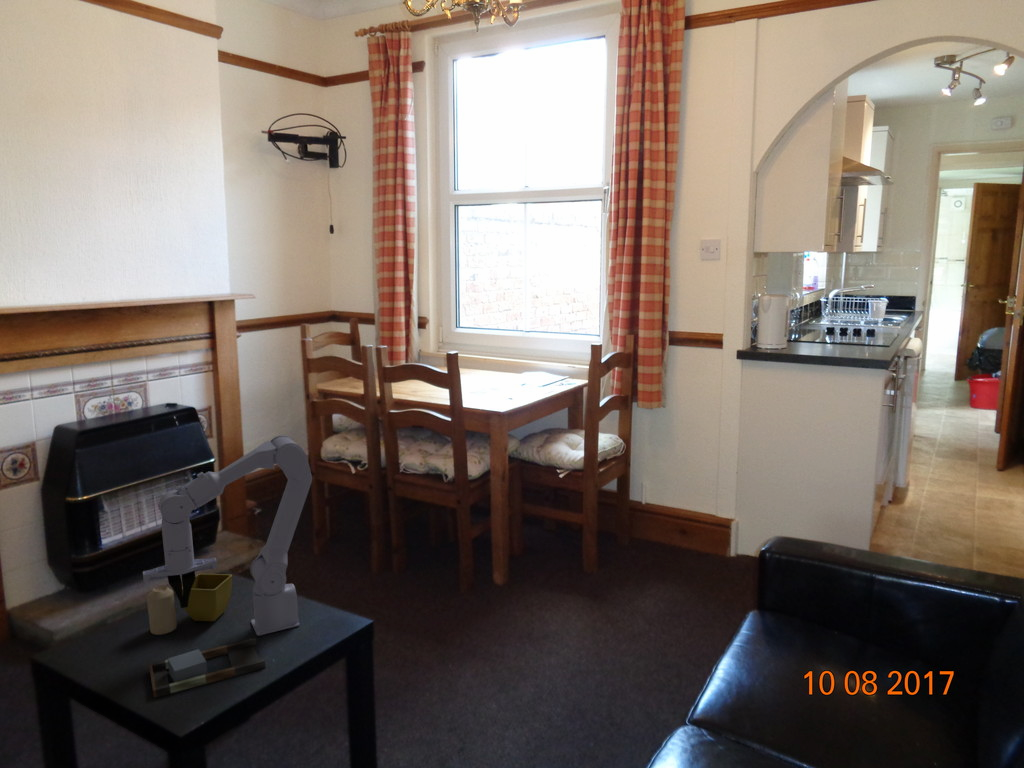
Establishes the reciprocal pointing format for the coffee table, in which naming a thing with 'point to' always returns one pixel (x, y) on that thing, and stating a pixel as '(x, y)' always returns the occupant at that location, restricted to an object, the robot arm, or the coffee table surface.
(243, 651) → the trap lane
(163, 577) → the robot arm
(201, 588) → the flower pot
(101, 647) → the coffee table surface
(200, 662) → the block
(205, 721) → the coffee table surface
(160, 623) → the candle
